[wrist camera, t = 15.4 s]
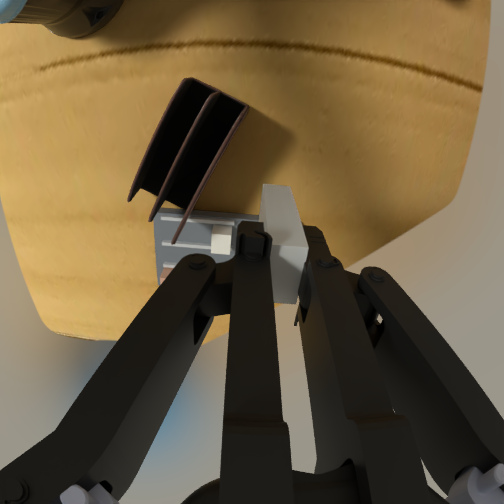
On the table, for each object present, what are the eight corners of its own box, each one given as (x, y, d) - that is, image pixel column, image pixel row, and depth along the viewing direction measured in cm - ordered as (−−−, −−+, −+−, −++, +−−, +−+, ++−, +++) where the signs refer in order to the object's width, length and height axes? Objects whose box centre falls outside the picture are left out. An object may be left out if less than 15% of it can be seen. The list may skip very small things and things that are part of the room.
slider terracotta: (165, 282, 58) (161, 293, 55) (164, 267, 56) (159, 277, 54) (180, 284, 58) (177, 295, 56) (180, 268, 56) (176, 279, 54)
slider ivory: (212, 243, 54) (210, 253, 51) (213, 224, 52) (211, 233, 49) (230, 244, 54) (229, 254, 51) (232, 225, 52) (231, 235, 49)
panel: (160, 278, 61) (155, 293, 57) (156, 207, 53) (149, 218, 49) (284, 289, 62) (286, 304, 58) (297, 218, 54) (301, 231, 50)
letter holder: (250, 105, 44) (249, 117, 32) (191, 210, 53) (174, 254, 41) (191, 76, 42) (168, 77, 30) (139, 184, 51) (107, 222, 39)
